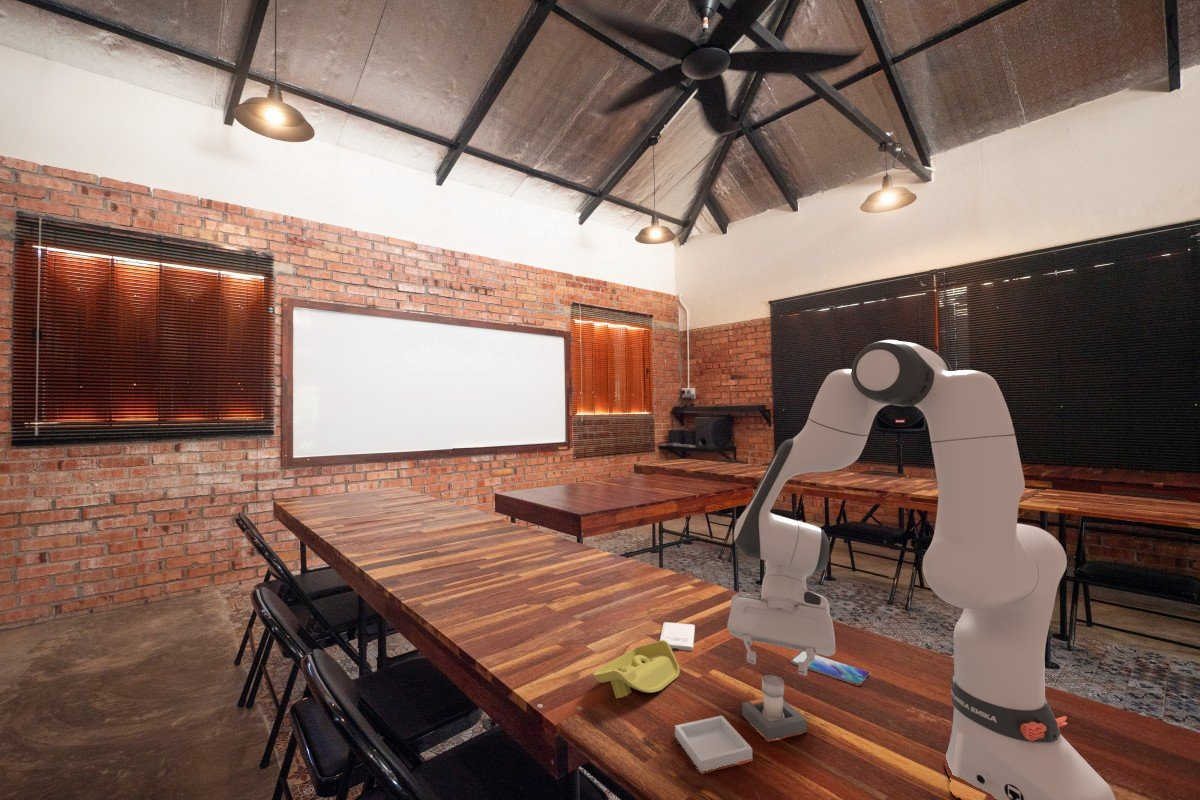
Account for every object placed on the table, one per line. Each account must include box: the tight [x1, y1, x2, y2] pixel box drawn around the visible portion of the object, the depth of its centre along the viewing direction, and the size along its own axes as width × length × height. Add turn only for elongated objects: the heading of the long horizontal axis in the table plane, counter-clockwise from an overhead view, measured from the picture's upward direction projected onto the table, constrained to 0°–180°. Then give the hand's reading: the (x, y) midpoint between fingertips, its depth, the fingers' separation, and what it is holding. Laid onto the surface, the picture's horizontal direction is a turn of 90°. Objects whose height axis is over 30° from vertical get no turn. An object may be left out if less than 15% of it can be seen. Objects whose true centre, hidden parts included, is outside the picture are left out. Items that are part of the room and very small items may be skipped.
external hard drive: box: [659, 621, 696, 652], centre depth 129 cm, size 2×8×12 cm
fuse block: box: [741, 697, 808, 740], centre depth 93 cm, size 8×8×3 cm
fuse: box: [761, 674, 785, 721], centre depth 93 cm, size 4×4×8 cm
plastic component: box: [592, 640, 680, 699], centre depth 107 cm, size 20×7×10 cm
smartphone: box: [790, 651, 871, 684], centre depth 113 cm, size 7×1×15 cm
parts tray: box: [674, 714, 753, 772], centre depth 87 cm, size 9×9×2 cm
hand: (776, 668), depth 97 cm, fingers open, 8 cm apart
